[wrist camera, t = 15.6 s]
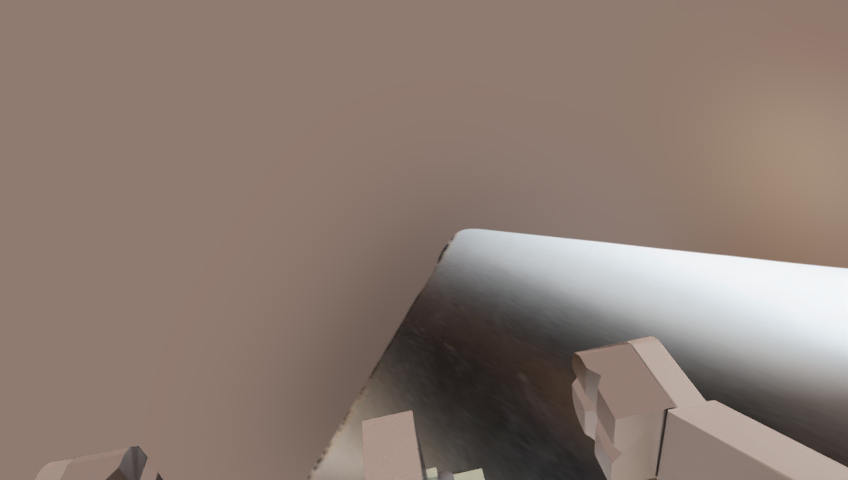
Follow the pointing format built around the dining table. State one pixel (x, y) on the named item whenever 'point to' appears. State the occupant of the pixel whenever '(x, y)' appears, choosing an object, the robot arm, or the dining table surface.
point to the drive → (392, 448)
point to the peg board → (455, 475)
